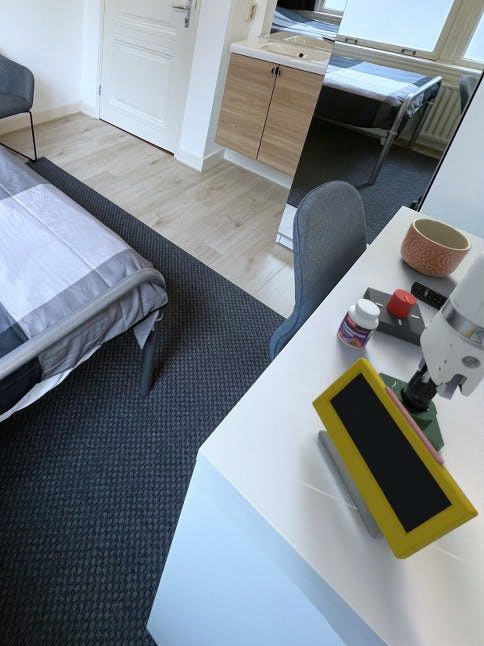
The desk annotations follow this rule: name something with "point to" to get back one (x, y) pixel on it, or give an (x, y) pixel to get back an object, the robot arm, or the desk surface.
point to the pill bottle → (359, 324)
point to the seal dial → (401, 303)
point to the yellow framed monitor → (388, 463)
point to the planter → (434, 247)
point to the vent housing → (418, 412)
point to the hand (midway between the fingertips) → (418, 392)
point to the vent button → (414, 400)
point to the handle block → (396, 319)
